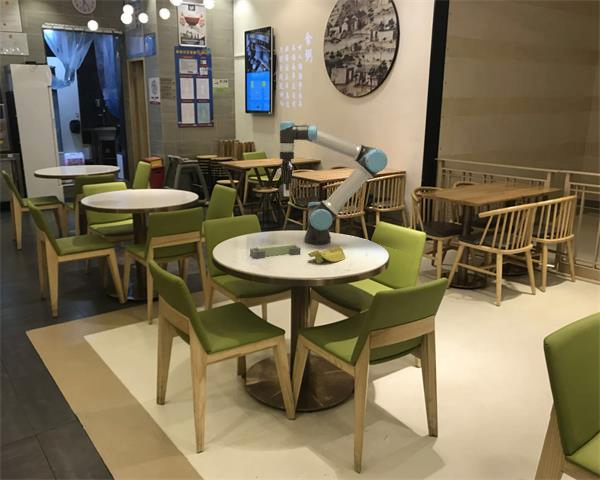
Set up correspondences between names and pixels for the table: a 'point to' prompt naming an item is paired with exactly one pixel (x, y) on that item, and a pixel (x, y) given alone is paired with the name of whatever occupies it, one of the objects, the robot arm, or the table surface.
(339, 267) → the table surface
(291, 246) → the slat
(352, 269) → the table surface
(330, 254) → the plastic component
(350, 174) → the robot arm
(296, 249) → the end caps
